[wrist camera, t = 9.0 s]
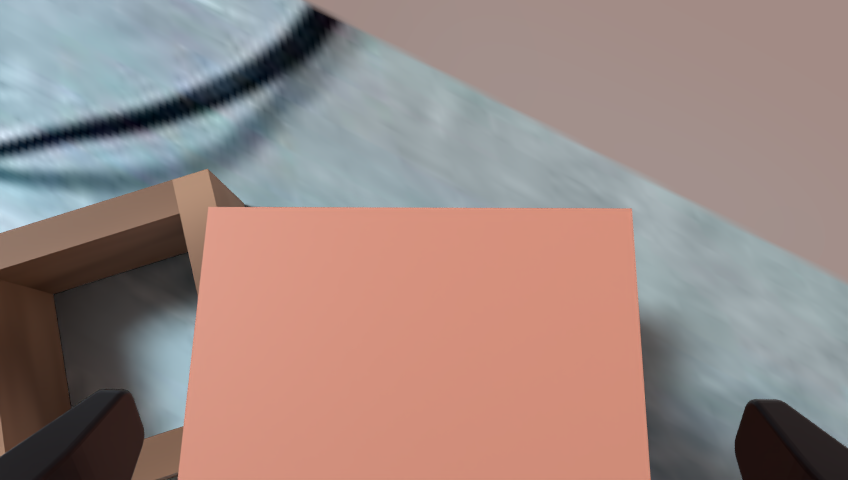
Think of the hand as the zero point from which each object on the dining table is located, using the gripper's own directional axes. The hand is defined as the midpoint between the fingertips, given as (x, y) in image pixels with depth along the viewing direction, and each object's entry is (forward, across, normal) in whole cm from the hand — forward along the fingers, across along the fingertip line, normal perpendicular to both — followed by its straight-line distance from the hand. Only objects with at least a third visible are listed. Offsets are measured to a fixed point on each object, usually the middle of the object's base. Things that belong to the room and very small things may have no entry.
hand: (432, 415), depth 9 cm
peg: (+6, 0, +6) cm, 9 cm away
